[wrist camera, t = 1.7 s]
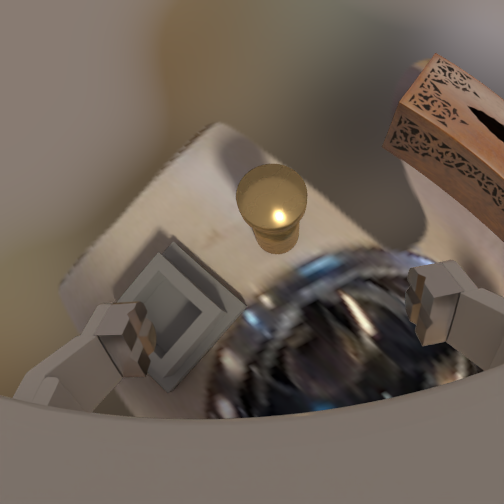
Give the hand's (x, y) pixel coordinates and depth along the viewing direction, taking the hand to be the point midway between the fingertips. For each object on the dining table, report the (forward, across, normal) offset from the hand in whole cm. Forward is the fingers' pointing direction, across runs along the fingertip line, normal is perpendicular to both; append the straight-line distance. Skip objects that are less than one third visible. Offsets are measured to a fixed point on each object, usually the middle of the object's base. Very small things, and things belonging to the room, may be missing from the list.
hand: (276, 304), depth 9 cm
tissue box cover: (+34, -30, +7) cm, 46 cm away
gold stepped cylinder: (+28, 0, +12) cm, 30 cm away
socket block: (+22, +14, +18) cm, 31 cm away
